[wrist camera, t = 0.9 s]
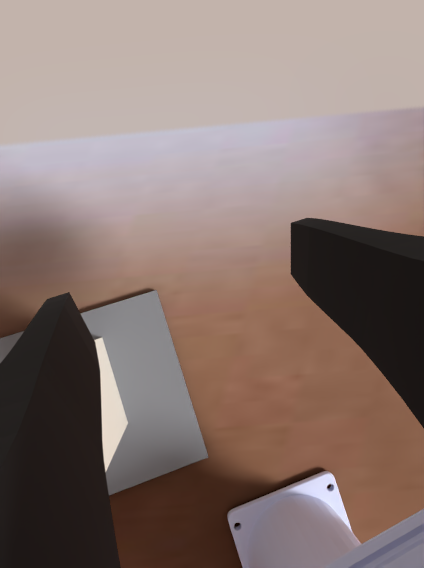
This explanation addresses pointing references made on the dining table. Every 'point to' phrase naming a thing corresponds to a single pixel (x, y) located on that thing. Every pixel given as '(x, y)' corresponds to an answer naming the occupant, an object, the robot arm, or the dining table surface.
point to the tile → (109, 406)
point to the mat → (143, 391)
